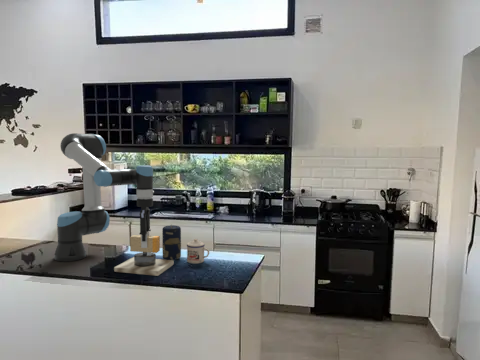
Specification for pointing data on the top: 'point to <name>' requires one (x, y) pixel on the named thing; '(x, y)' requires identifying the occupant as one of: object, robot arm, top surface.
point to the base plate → (144, 267)
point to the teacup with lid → (196, 251)
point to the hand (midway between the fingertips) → (145, 246)
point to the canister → (171, 242)
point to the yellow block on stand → (145, 250)
